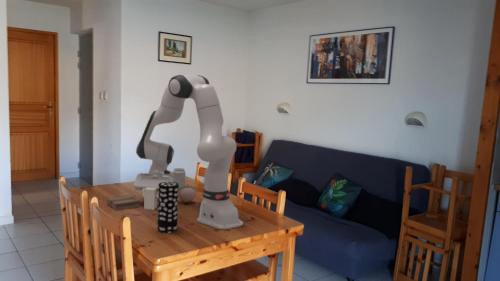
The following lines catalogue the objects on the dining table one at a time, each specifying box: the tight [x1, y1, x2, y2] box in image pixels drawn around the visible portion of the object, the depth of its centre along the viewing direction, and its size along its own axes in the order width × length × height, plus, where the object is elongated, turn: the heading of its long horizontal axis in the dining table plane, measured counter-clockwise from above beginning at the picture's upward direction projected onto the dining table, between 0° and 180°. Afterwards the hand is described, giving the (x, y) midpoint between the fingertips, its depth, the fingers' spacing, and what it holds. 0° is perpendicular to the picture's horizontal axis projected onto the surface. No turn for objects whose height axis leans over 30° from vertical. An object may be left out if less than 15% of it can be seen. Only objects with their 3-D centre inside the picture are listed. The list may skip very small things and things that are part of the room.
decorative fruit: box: [178, 184, 197, 204], centre depth 213 cm, size 9×8×10 cm
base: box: [106, 195, 141, 211], centre depth 203 cm, size 12×12×3 cm
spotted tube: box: [156, 182, 179, 234], centre depth 172 cm, size 8×8×20 cm
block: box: [143, 187, 158, 211], centre depth 202 cm, size 5×5×10 cm
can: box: [172, 167, 186, 190], centre depth 243 cm, size 8×8×12 cm
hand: (150, 197), depth 201 cm, fingers closed on block, 5 cm apart
